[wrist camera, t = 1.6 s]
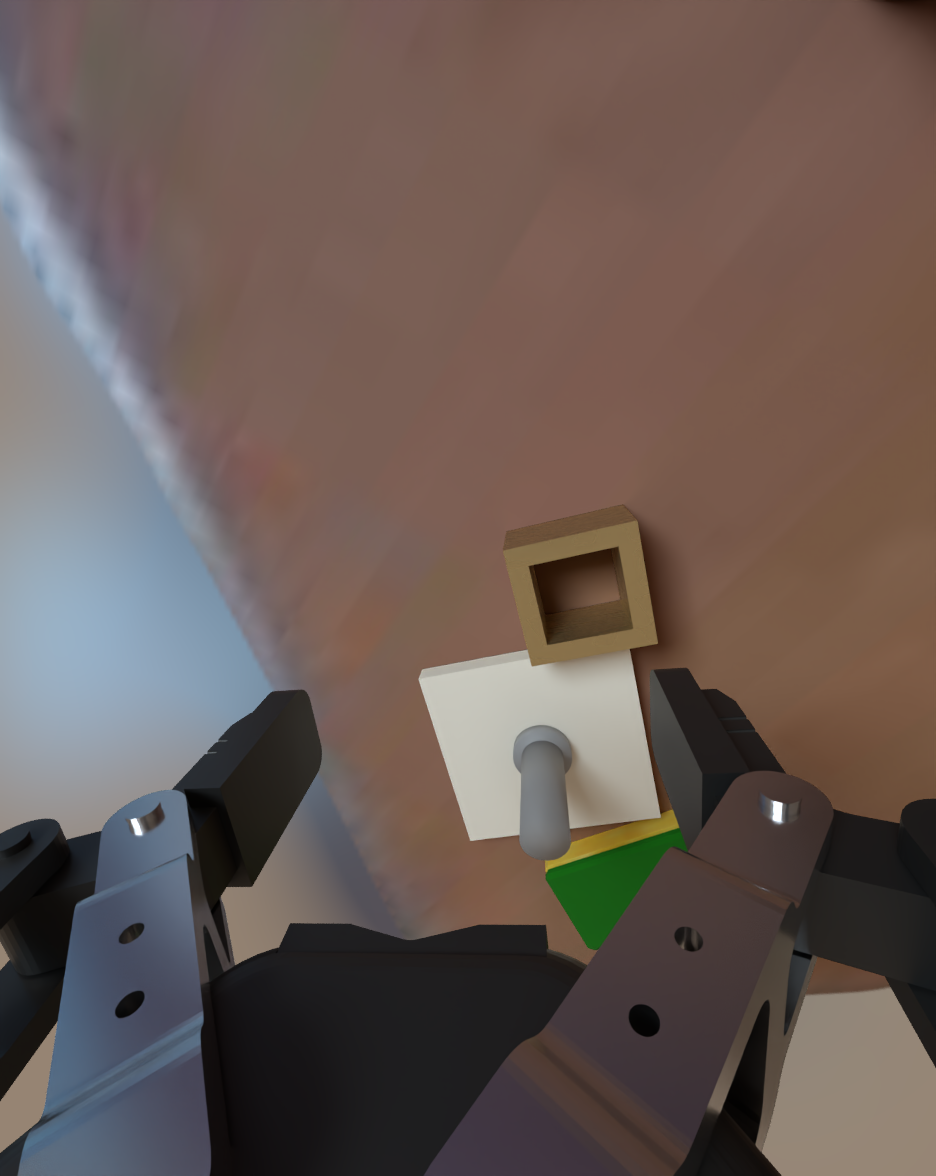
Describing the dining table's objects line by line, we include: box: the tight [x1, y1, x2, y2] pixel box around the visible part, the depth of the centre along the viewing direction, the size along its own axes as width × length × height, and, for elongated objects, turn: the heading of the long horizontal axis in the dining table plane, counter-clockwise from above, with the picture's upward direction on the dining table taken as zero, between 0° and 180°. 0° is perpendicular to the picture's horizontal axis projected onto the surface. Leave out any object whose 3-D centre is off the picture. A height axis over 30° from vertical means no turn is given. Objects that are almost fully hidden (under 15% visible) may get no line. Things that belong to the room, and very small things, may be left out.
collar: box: [503, 505, 658, 667], centre depth 27 cm, size 6×6×4 cm
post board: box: [419, 649, 661, 861], centre depth 29 cm, size 12×12×8 cm
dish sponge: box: [545, 809, 688, 950], centre depth 34 cm, size 7×14×2 cm, turn 119°
